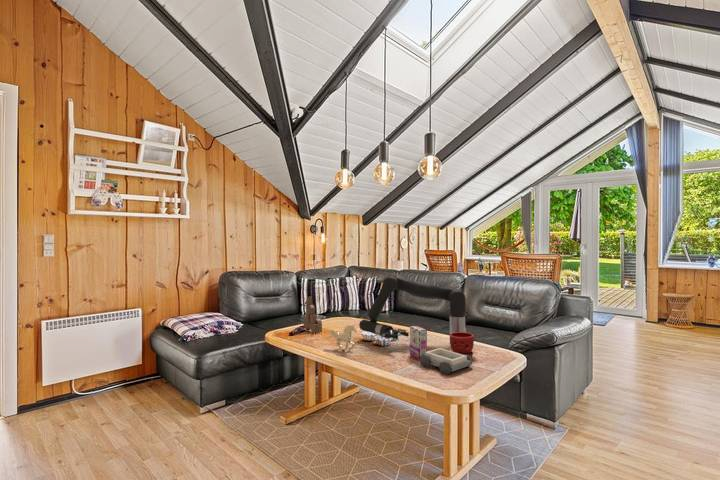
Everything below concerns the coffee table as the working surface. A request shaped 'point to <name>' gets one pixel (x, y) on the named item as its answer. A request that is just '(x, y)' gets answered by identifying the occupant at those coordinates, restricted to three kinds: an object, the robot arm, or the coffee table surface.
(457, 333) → the plant pot
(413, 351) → the candy bar box
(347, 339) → the unicorn
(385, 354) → the coffee table surface
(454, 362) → the toy car chassis
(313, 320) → the wooden toy
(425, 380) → the coffee table surface
